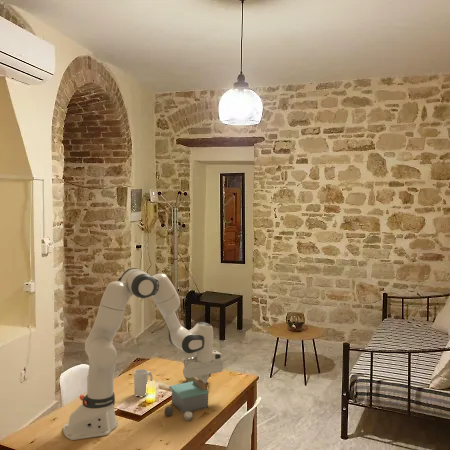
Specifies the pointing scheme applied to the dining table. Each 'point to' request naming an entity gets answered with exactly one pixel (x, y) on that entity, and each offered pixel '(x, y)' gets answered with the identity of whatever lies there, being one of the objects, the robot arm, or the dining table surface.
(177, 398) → the bin
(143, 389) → the mug
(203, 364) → the robot arm
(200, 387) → the lid
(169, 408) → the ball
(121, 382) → the dining table surface
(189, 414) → the steel ball
